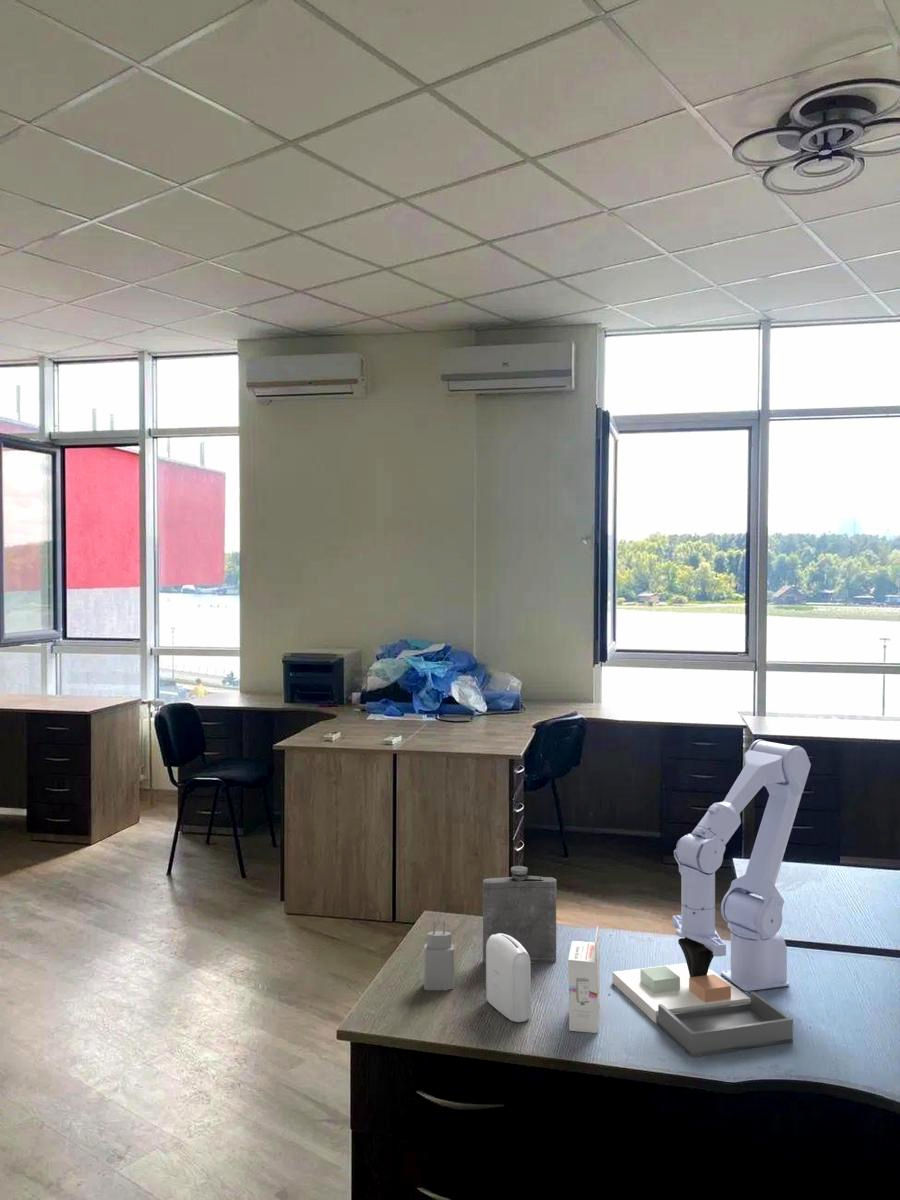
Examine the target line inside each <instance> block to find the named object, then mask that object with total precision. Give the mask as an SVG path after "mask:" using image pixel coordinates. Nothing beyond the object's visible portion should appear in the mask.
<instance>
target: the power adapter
mask: <svg viewBox="0 0 900 1200" xmlns="http://www.w3.org/2000/svg"><path fill="white" fill-rule="evenodd" d="M432 922H433V923H432V927H433V928H432V931H429V932H427V933H426V943H425V944H424V945H423V990H425V991H446V990H445V989H453V988H454V989H455V944H453V943H452V933H451V932H450V931H446V920H445V919H444V920H443V923H442V924H443V928H442V929H443V931H441V930H439V931H438V930H437V931H436V922H435V919H433V921H432ZM454 989H453V990H454Z"/></svg>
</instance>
